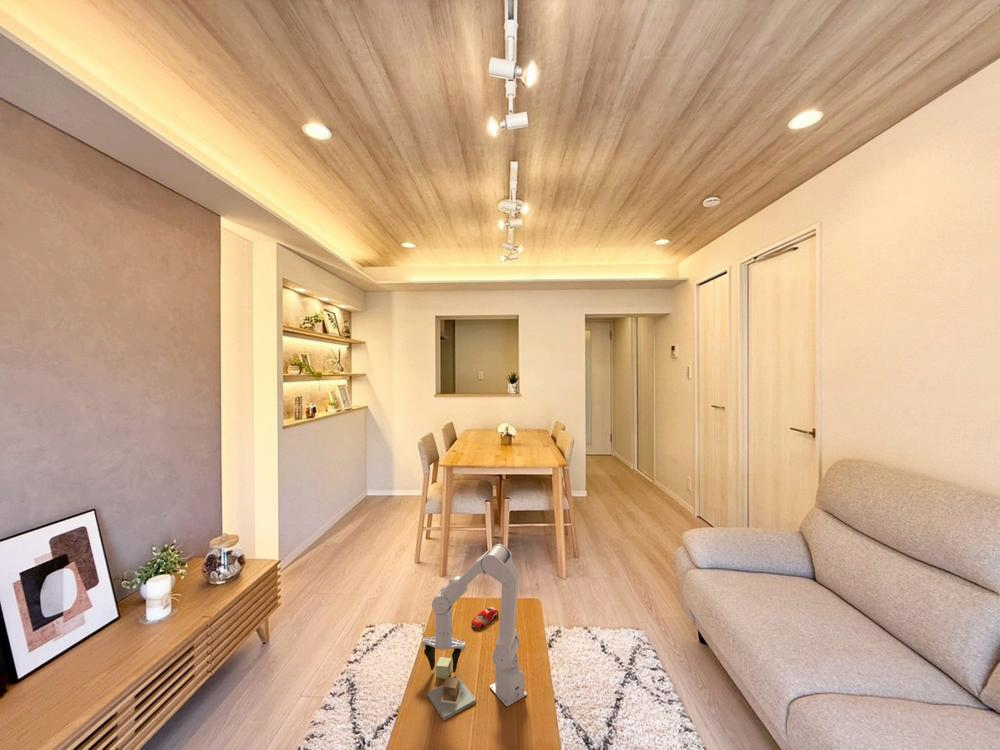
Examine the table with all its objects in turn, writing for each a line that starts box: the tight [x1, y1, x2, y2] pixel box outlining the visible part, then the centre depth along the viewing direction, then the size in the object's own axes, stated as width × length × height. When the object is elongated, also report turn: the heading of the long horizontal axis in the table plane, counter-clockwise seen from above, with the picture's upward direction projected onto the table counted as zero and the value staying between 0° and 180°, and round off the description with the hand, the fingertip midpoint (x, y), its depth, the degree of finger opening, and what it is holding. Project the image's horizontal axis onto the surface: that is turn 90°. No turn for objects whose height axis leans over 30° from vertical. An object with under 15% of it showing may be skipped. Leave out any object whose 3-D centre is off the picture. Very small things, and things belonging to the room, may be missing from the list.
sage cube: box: [435, 656, 452, 680], centre depth 132 cm, size 4×4×4 cm
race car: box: [471, 606, 499, 630], centre depth 161 cm, size 13×5×4 cm, turn 138°
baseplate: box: [426, 677, 477, 721], centre depth 121 cm, size 11×11×1 cm
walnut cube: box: [442, 676, 460, 702], centre depth 121 cm, size 4×4×4 cm
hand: (443, 669), depth 132 cm, fingers open, 7 cm apart
